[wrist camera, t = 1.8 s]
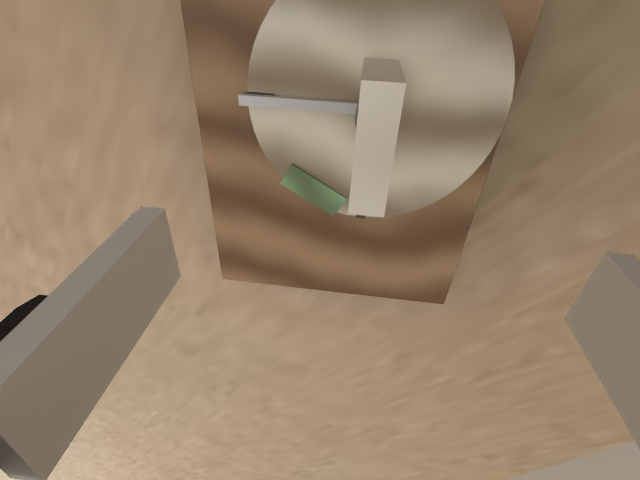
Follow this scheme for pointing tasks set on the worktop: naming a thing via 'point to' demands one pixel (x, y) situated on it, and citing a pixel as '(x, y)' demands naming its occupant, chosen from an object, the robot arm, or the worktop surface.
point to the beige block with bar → (361, 129)
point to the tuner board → (350, 134)
